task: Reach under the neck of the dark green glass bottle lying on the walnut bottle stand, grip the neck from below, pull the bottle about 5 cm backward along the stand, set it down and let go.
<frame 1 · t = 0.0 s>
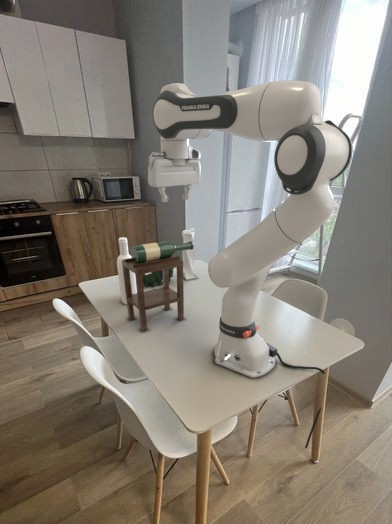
hand: (175, 200, 102), 48 cm above the table, tool pointing down, fingers open, 8 cm apart
bottle 2: (130, 301, 147), on the table
skyscraper: (189, 278, 175), on the table
toy figurine: (157, 284, 166), on the table
bottle: (163, 258, 120), point 26 cm above the table, touching stand
stand: (166, 316, 134), on the table
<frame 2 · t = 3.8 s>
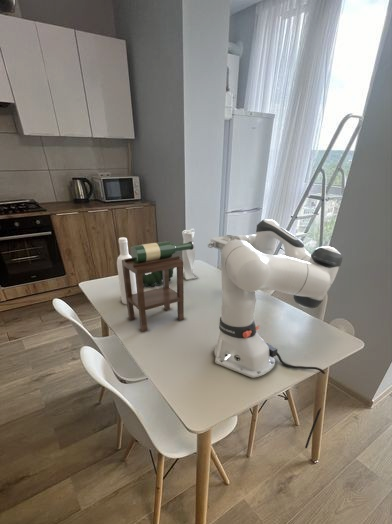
hand: (215, 247, 132), 27 cm above the table, tool horizontal, fingers open, 8 cm apart
nothing on the table moved.
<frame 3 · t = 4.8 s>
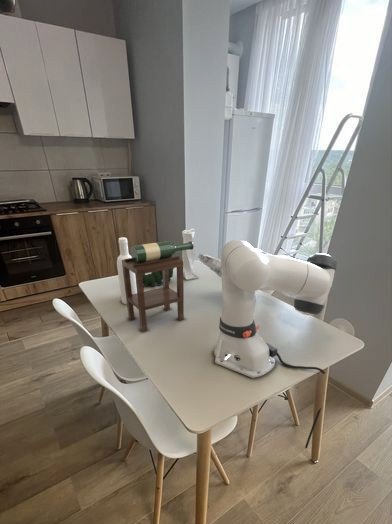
hand: (205, 258, 132), 23 cm above the table, tool pointing upward, fingers open, 8 cm apart
nothing on the table moved.
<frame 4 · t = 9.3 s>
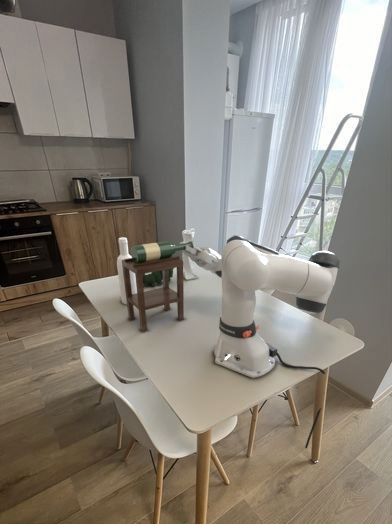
hand: (182, 246, 122), 30 cm above the table, tool pointing upward, fingers closed on bottle, 3 cm apart
bottle: (163, 258, 120), point 26 cm above the table, touching gripper, stand
everything else where it was.
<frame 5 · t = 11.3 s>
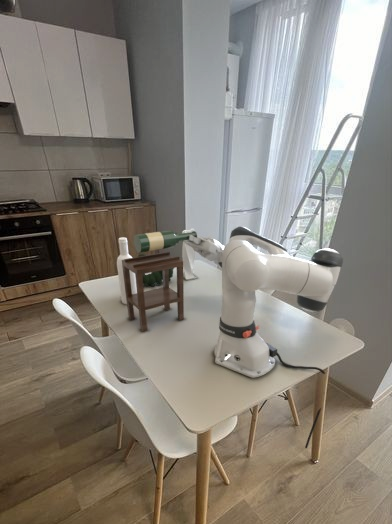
hand: (186, 235, 121), 34 cm above the table, tool pointing upward, fingers closed on bottle, 3 cm apart
bottle: (166, 248, 119), point 30 cm above the table, touching gripper
everything else where it was.
when the fingers open (30 cm above the table, at t = 13.8 s): bottle stays where it is, resting on stand.
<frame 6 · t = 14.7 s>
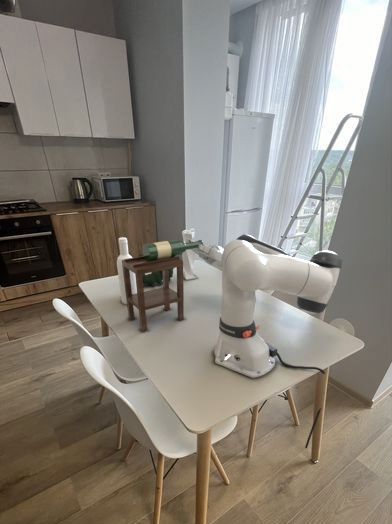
hand: (192, 243, 125), 30 cm above the table, tool pointing upward, fingers open, 8 cm apart
bottle: (174, 256, 122), point 26 cm above the table, touching stand
everything else where it was.
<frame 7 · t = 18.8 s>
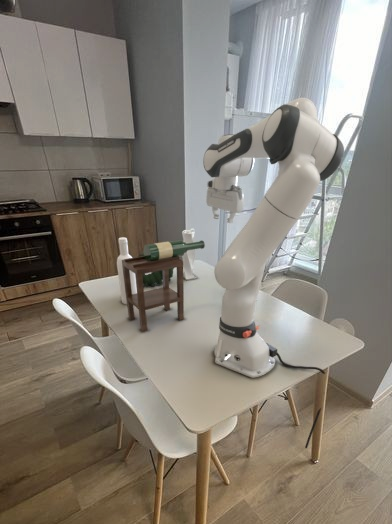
hand: (222, 220, 128), 37 cm above the table, tool pointing down, fingers open, 8 cm apart
bottle: (174, 256, 122), point 26 cm above the table, tilted 18°, touching stand
everything else where it was.
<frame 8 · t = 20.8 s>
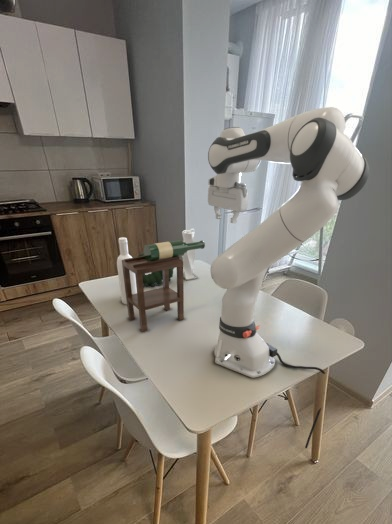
hand: (225, 220, 119), 39 cm above the table, tool pointing down, fingers open, 8 cm apart
nothing on the table moved.
at the end: bottle 0.7 cm from the target spot, point 26.2 cm above the table; bottle touching stand; the gripper is holding nothing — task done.
